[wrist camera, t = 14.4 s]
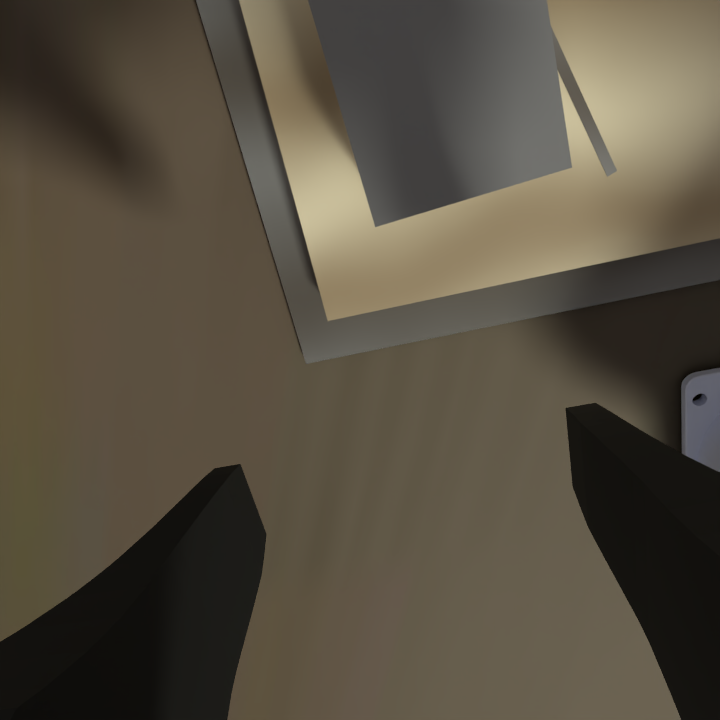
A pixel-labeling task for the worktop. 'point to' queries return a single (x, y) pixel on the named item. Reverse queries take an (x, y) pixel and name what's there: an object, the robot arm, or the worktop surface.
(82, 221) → the worktop surface
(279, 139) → the pine board
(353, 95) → the block
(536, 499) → the worktop surface
